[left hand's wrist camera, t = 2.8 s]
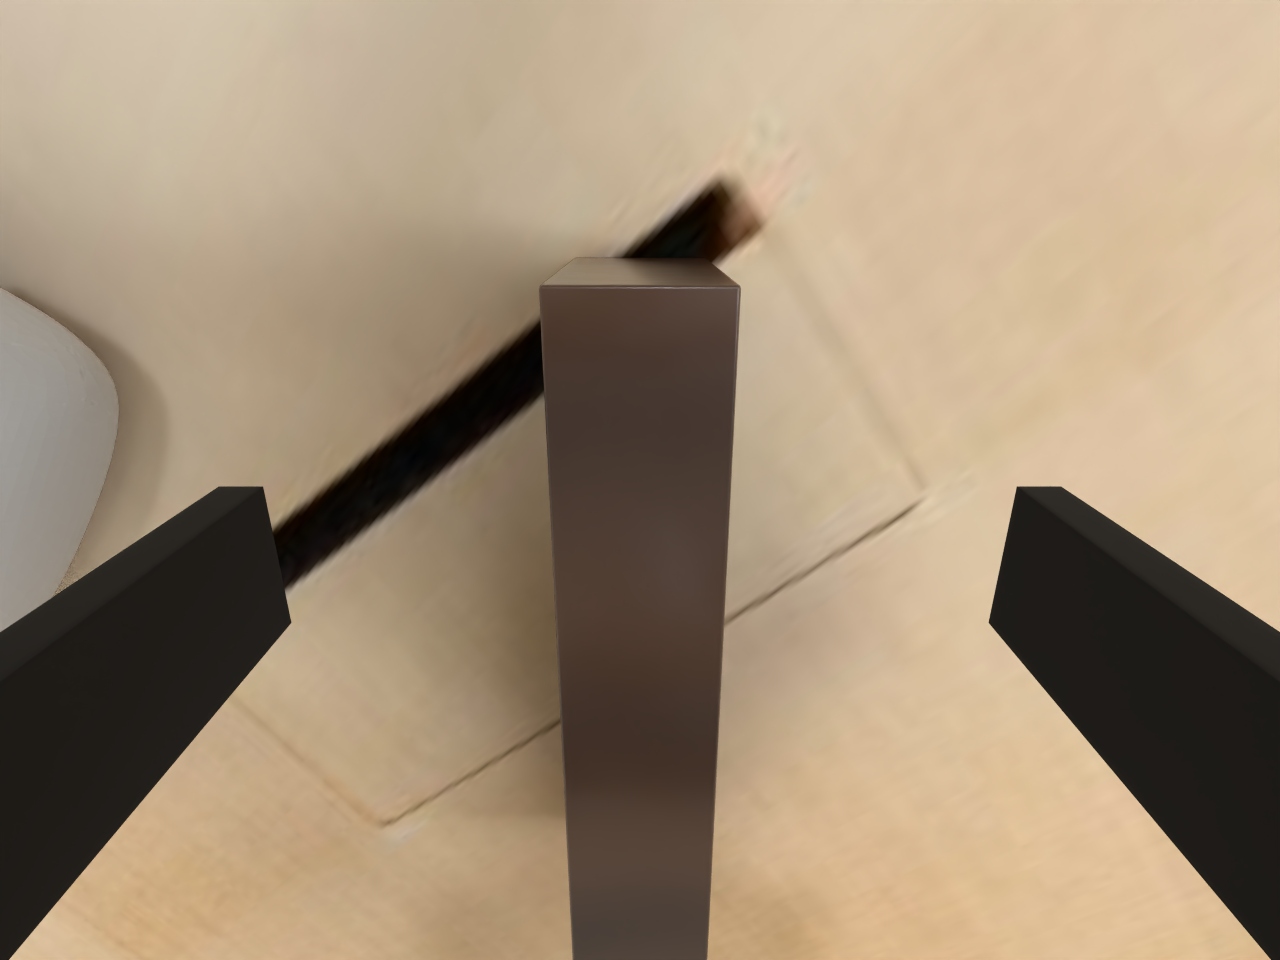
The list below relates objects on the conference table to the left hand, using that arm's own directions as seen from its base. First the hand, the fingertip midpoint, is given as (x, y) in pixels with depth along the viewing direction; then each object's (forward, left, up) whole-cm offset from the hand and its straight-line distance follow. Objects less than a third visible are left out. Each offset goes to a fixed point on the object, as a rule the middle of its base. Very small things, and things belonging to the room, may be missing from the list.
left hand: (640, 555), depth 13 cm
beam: (+10, 0, -17) cm, 19 cm away
